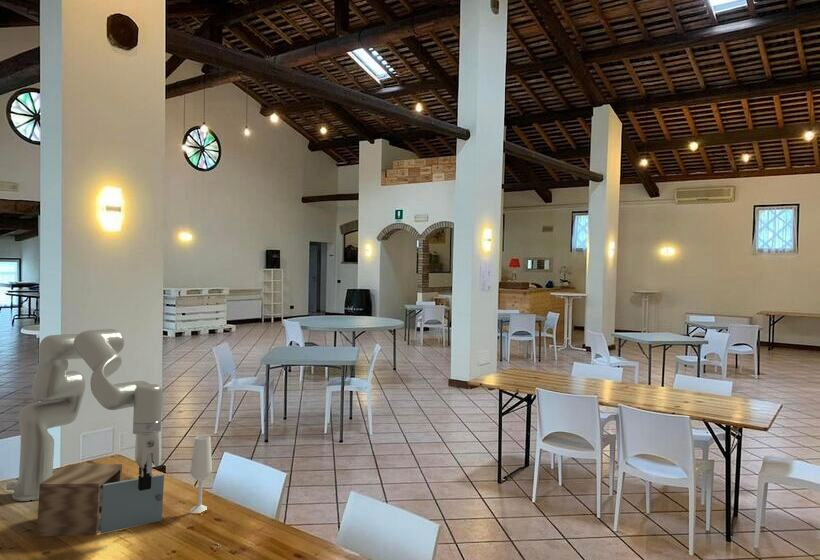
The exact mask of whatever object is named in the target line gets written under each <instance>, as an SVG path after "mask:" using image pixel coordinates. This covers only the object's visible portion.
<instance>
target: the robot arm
mask: <svg viewBox="0 0 820 560" xmlns="http://www.w3.org/2000/svg"><path fill="white" fill-rule="evenodd" d="M124 346H125V339H124V337H123V334H121V333H120V332H119V331H118V330H116V329H112V328H106V329H105V328H104V329H89V330H84V331H81V332H80V333H68V334H66V333H65V334H52V335H47V336H45V337H44V338H43V339H41V341H40V343H39V346H38V364H37V368H36V372H35V375H34V379H33V383H32V386H31V396H32V397H31V398H32V399H33V400H35V401H36V402H32V403H28V404H27V405H26V404H25V406H23V407H22V408H21V409H20V411H19V413H18V423H19V431H20V451H19V452H20V453H19V470H18V481H8V482H7V483H6V489H5V490H6V491H7V490H8V491H11V490H13V491H14V492H13V493H12V494H11V495H12V496H11V499H13V500H14V501H18V502H30V500H32V501H39V486H40V484H41V483H42V482H44V481H45V480H47V479H48V478H50V477H51V476H53V475H54V474H53V472H54V457H55V456H54V455H55V439H54V436H52V434H51V433H50V432H49V431H48V430H49V429H53V428H57V427H62V426H66V425H67V426H68V425H69V424H72V423H73V422H75V420H76V419H77V417H78V415H79V412H80V409H81V405H82V402H83V398H84V394H85V391H86V378H85V376H84V375H83V374H82V372H80V371H77V370H68V368H69V361H70V360H81V359H82V360H83V361H84V362H85V363H86V365H87V366H88V367H89V368H90V369H91V371H92V374H91V376H90V380H89V381H90V389H91V390H90V391H91V393H92V395H93V397H94V398H95V399H96V400H97V402H98V404H100V406H102V407H103V408H104V409H106V410H108V411H117V410H123V409H127V408H133V417H132V418H133V419H132V420H133V421H132V434H133V435H135V447H134V448H135V449H134V461H135V463H136V464H137V466H138V489H139V490H140V491H142V490H147V489H151V477H152V476H153V475H152V473H153V465H154V466H155V467H156V468H157V467H159V466H160V438H159V433H160V432H162V412H163V411H162V410H163V408H162V407H163V388H162V386H161V385H160V384H157V383H156V384H155V383H149V382H147V381H144V380H135V381H127V382H121V383H119V382H118V383H114V384H113V383H112V382H110V380H109V379H108V377H110V376H112V375H113V374H115V373H116V372H117V371H118V370H119V368H120V367H121V365H122V356H121V355H120V354H119V353H121V352H122V351H123V349H124Z"/></svg>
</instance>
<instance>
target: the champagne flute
mask: <svg viewBox="0 0 820 560" xmlns="http://www.w3.org/2000/svg"><path fill="white" fill-rule="evenodd" d="M211 439H212V438H211V436H210V435H205V434H204V435H197V436H195V438H194V443H193V450H192V451H193V452H192V457H191V458H192V459H191V465H190V470H189V471H190V474H191V476H192V477H193V479H195V480H196V481H197V482H198V491H197V492H198V493H197V494H198V495H197V505H195V506H193V507H191V508H190V509H191V510H190V509H189V510H190V513H201V512H203V511H205V510H207V507H208V506H206V505H203V503H202V502H203V483H204V482H203V481H205V480H206V479H207V478H208V477H210V475H211V473H212V471H213V462H212V461H213V459H212V456H213V455H212V440H211ZM190 513H189V514H190Z"/></svg>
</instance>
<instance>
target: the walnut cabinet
mask: <svg viewBox="0 0 820 560" xmlns="http://www.w3.org/2000/svg"><path fill="white" fill-rule="evenodd" d="M122 472H123V464H121V463H120V464H118V463H117V464H116V463H115V464H113V463H112V464H109V463H107V464H105V463H104V464H102V463H101V464H98V463H97V464H93V463H92V464H68V465H66V466H64V467H63V468H62V469H60V470H58V471H57V472H55V473H54V474H53V476H51V477H50V478H48V479H47V480H45V481H44V482H42V483H41V484H40V486H39V499H38V505H37V527H36V537H37V536H38V537H68V536H69V537H72V536H73V537H74V536H97V535H98V534H99V533H100V531H98V520H99V519H101V506H102V499H100V488H102V487H103V484H107V483H113V482H119V481H122V476H123V475H122V474H123V473H122Z"/></svg>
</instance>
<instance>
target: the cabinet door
mask: <svg viewBox="0 0 820 560" xmlns="http://www.w3.org/2000/svg"><path fill="white" fill-rule="evenodd" d="M138 478H139V477H138ZM138 478H131V479H125V480H121V481H119V482H113V483H107V484H103V487H102V488H100V499H102V506H101V519H99V520H98V531H100V532H99V533H100V535H102V534H107V533H111V532H115V531H119V530H124V529H129V528H130V529H131V528H134V527H139V526H142V525H147V524H152V523H156V522H161V521H162V520H163V507H164V506H163V505H164V504H163V503H164V486H165V485H164V483H165V474H164V473H161V474H155V475H152V477H151V489H147V490H142V491H140V490H139V489H138Z"/></svg>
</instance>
